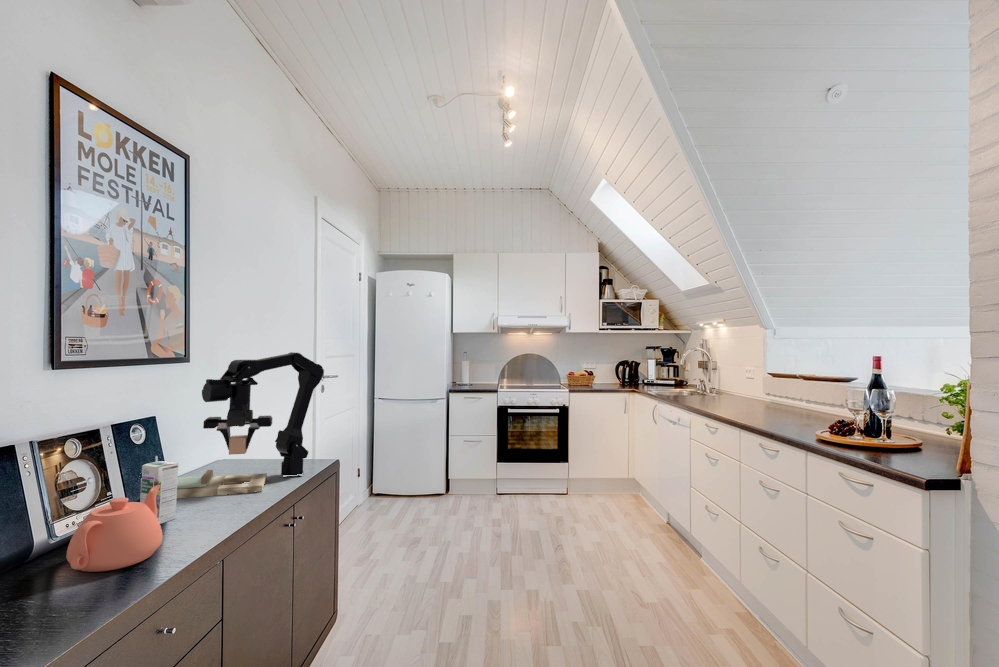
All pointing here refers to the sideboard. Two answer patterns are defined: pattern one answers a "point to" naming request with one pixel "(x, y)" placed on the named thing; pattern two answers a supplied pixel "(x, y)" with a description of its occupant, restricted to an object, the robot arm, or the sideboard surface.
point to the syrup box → (161, 487)
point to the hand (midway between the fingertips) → (238, 449)
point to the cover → (195, 480)
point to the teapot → (116, 535)
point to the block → (237, 444)
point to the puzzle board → (226, 486)
